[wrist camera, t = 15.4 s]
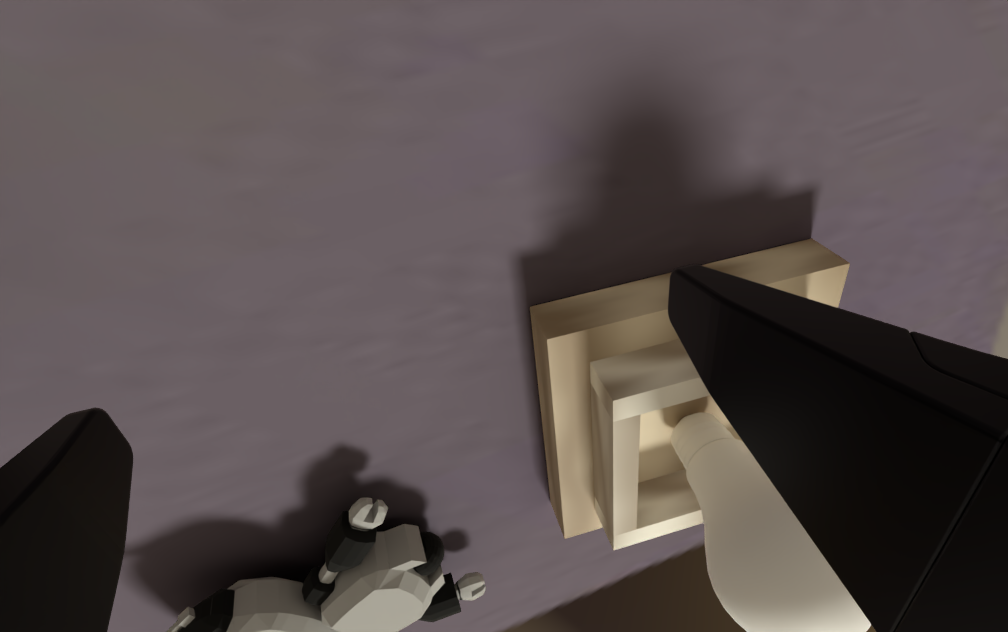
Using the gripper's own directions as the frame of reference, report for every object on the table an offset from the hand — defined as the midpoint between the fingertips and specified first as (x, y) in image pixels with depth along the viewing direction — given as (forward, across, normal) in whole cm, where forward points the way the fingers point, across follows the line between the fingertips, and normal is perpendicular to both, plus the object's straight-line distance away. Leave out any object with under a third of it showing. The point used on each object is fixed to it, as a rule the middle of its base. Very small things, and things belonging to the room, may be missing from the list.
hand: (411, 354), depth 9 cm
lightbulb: (+11, -12, +16) cm, 23 cm away
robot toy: (+13, +8, +24) cm, 29 cm away
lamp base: (+13, -12, +16) cm, 24 cm away
